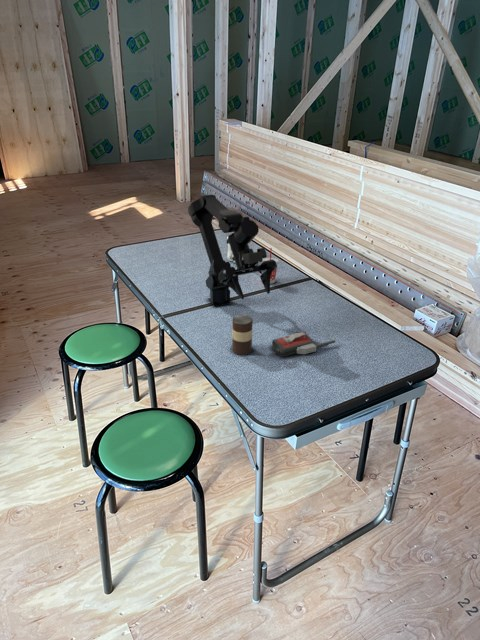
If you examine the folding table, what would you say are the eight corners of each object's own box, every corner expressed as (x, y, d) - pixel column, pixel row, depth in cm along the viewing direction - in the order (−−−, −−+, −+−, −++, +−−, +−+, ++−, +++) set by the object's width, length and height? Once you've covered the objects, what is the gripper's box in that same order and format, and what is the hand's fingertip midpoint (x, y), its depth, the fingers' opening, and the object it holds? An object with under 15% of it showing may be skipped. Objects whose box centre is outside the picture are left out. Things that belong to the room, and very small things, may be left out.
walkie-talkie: (282, 362, 145) (336, 346, 153) (283, 349, 143) (338, 334, 151) (267, 348, 152) (320, 334, 160) (268, 336, 150) (321, 322, 158)
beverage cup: (277, 278, 199) (279, 245, 192) (276, 284, 194) (278, 251, 187) (262, 277, 200) (263, 245, 193) (261, 283, 194) (262, 250, 188)
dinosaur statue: (234, 252, 225) (234, 229, 220) (257, 271, 206) (258, 246, 201) (220, 254, 222) (220, 231, 217) (242, 273, 203) (243, 248, 198)
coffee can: (236, 356, 147) (237, 325, 142) (229, 347, 152) (229, 316, 147) (255, 352, 149) (256, 322, 144) (246, 343, 154) (247, 313, 149)
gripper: (222, 244, 144) (238, 293, 141) (276, 235, 152) (292, 281, 149) (211, 258, 154) (226, 305, 151) (262, 250, 162) (277, 293, 159)
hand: (256, 296), depth 152 cm, fingers open, 9 cm apart
